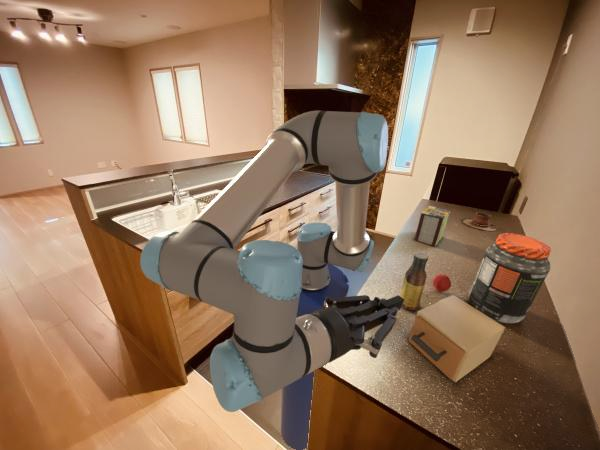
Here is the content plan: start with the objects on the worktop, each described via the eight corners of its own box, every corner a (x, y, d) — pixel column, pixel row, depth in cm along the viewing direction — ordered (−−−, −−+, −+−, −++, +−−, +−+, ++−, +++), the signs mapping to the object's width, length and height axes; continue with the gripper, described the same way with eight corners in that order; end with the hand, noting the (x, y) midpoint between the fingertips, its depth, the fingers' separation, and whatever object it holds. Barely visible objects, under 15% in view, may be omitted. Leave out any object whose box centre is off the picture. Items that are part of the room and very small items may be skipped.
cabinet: (455, 382, 60) (469, 351, 55) (408, 339, 71) (417, 311, 66) (490, 356, 67) (505, 327, 62) (442, 321, 78) (452, 294, 73)
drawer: (439, 388, 57) (451, 362, 54) (397, 346, 67) (404, 322, 64) (484, 356, 66) (496, 331, 62) (440, 323, 76) (448, 300, 72)
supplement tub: (513, 301, 88) (546, 237, 78) (530, 333, 75) (572, 260, 65) (463, 288, 94) (487, 226, 84) (470, 315, 81) (500, 246, 70)
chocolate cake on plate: (471, 217, 165) (475, 207, 162) (502, 227, 152) (506, 217, 149) (457, 222, 156) (461, 211, 153) (488, 233, 143) (493, 222, 140)
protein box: (442, 237, 135) (450, 210, 129) (435, 246, 124) (443, 218, 118) (422, 231, 141) (429, 205, 135) (413, 239, 130) (420, 212, 124)
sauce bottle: (407, 296, 88) (421, 248, 80) (422, 308, 83) (438, 257, 75) (393, 301, 85) (406, 251, 77) (408, 313, 80) (423, 262, 72)
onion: (430, 284, 95) (436, 267, 92) (447, 289, 93) (453, 271, 90) (430, 293, 90) (436, 275, 87) (448, 298, 88) (455, 280, 85)
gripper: (355, 352, 32) (436, 307, 47) (297, 292, 41) (380, 271, 56) (339, 392, 35) (420, 338, 49) (288, 327, 44) (369, 298, 58)
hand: (399, 302), depth 52 cm, fingers closed
